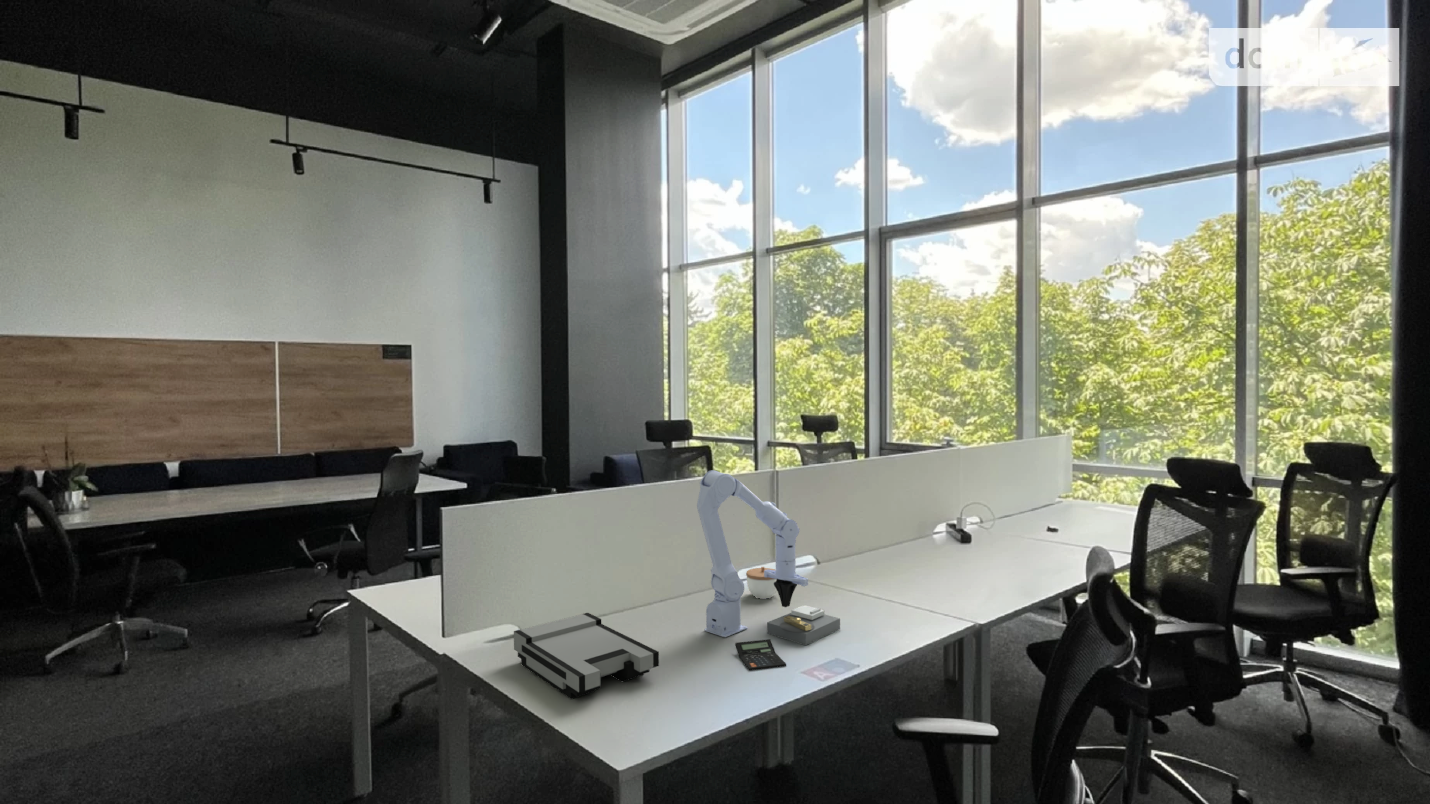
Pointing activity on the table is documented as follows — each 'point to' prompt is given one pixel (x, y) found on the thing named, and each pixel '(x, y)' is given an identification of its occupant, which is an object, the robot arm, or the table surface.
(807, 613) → the hatch cover
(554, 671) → the game console
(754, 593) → the lidded jar
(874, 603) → the table surface
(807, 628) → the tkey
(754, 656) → the calculator
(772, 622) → the grey flat block
